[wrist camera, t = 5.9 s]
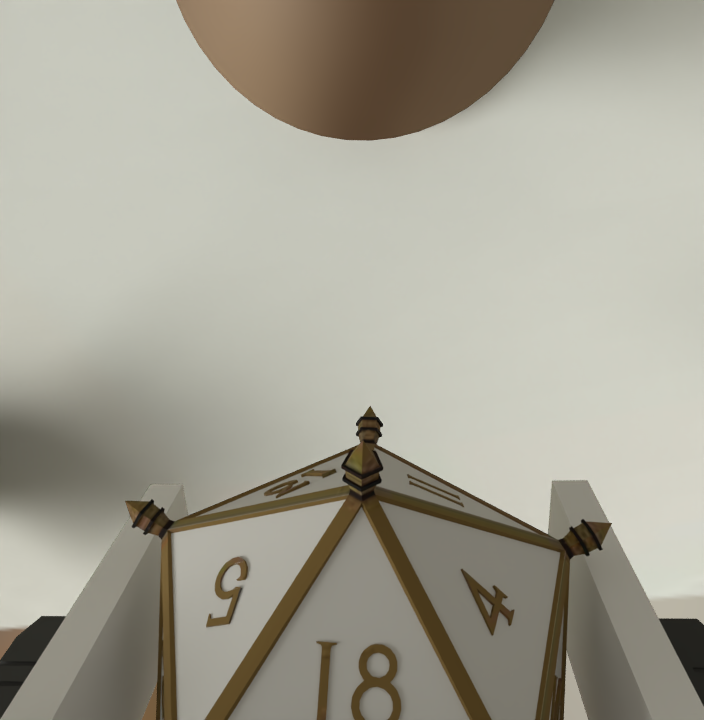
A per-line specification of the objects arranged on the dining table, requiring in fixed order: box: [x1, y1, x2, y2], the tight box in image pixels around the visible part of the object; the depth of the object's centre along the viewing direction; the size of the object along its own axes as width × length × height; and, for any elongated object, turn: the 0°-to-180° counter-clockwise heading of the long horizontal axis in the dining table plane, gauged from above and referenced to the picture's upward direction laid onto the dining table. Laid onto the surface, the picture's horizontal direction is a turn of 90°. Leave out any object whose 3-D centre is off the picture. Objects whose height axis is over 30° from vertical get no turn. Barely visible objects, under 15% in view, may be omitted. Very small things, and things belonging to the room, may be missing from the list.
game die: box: [125, 406, 612, 720], centre depth 11 cm, size 9×8×10 cm
